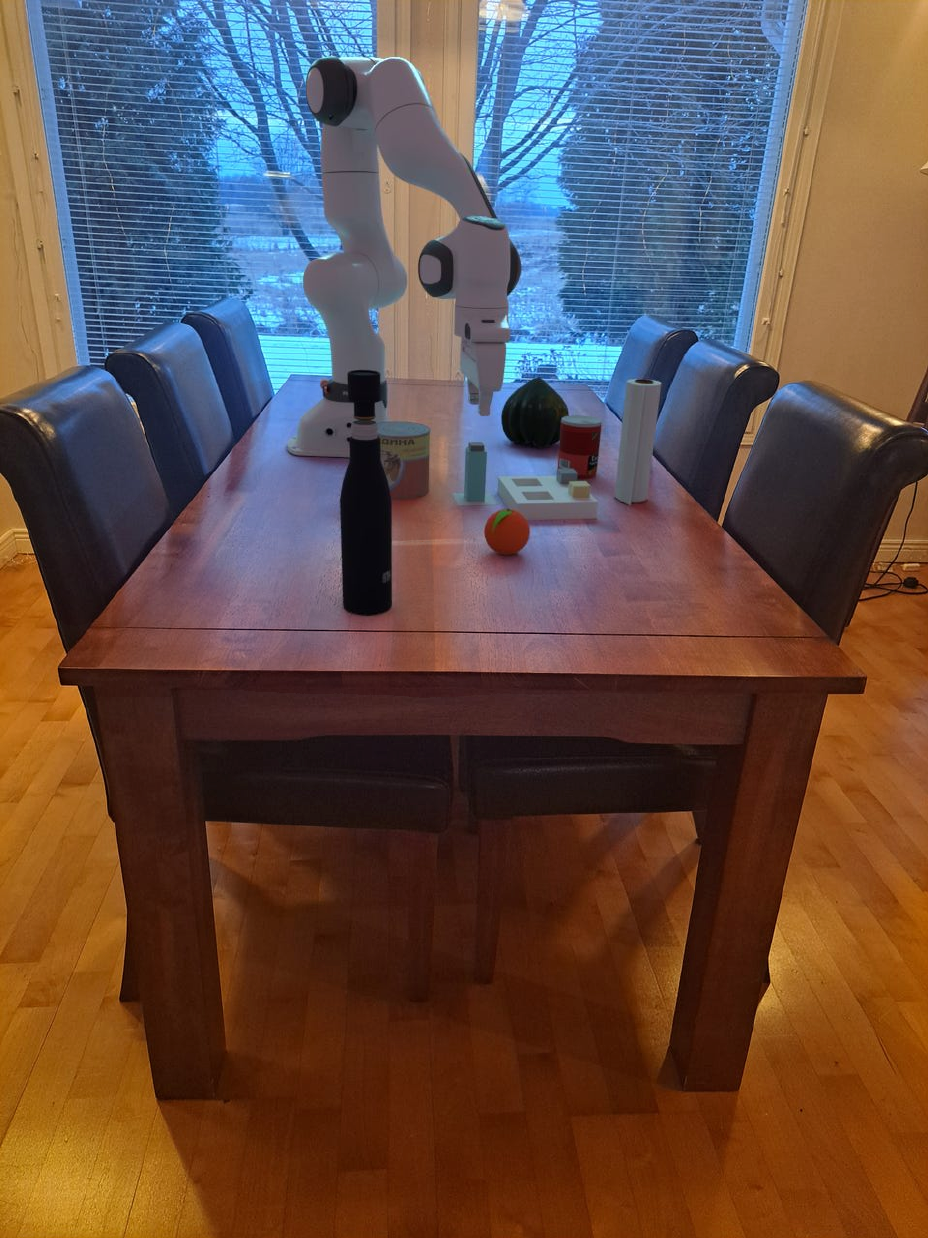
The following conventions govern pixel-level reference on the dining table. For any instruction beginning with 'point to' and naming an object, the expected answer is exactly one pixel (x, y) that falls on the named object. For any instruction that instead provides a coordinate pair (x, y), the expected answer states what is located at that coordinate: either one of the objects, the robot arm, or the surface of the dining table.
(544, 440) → the squash
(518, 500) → the block
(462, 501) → the mat
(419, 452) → the canned food
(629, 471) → the paper towel roll
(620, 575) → the dining table surface
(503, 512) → the clementine
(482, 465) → the plug
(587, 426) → the canned food
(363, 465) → the insulated water bottle
